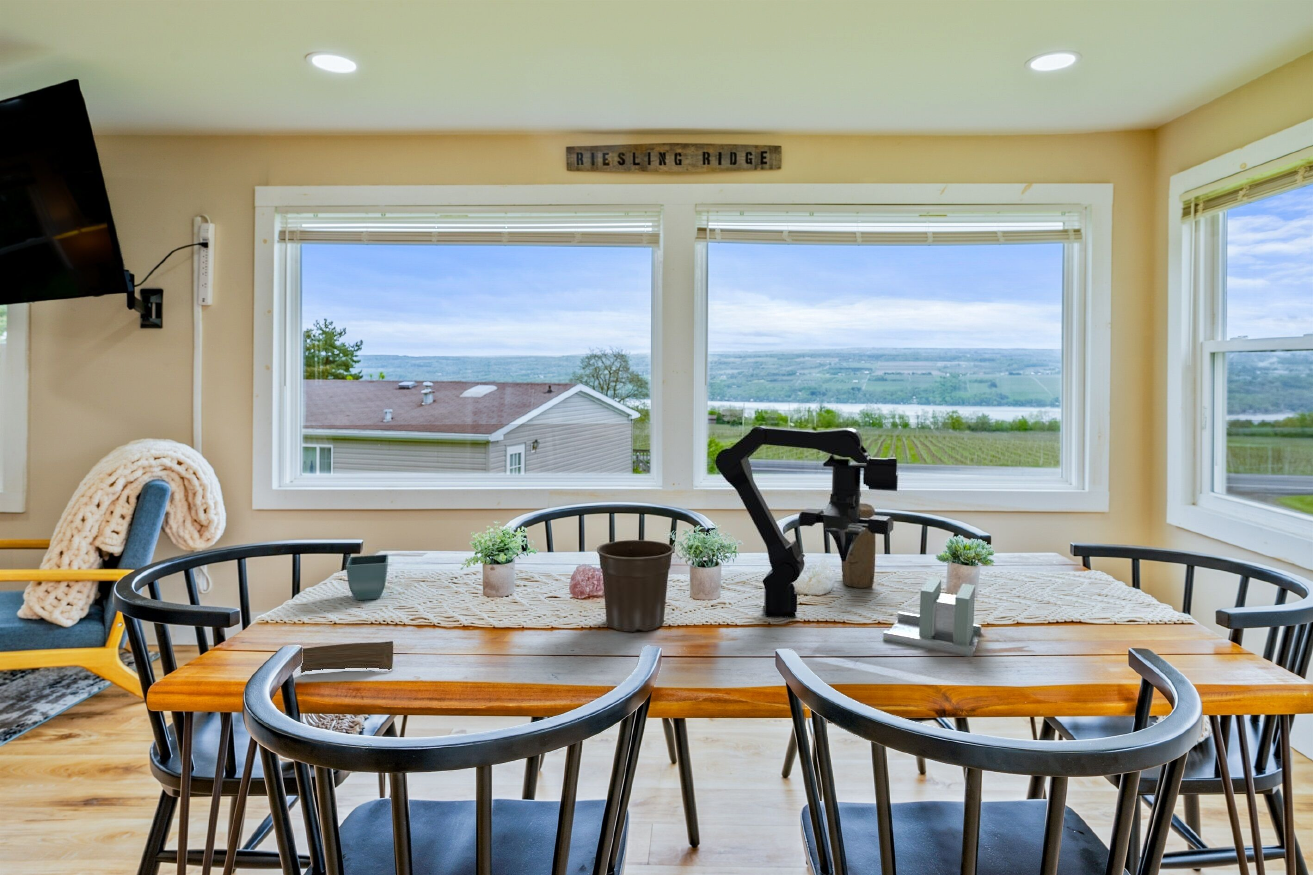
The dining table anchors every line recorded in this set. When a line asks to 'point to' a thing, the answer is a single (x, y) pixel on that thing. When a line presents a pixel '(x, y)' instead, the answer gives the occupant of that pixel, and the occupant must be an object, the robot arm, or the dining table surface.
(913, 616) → the vise base
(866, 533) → the block
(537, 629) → the dining table surface
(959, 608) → the fixed jaw
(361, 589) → the flower pot
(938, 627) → the steel block
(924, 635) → the bar
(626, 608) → the plant pot
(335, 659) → the wood plank
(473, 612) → the dining table surface
